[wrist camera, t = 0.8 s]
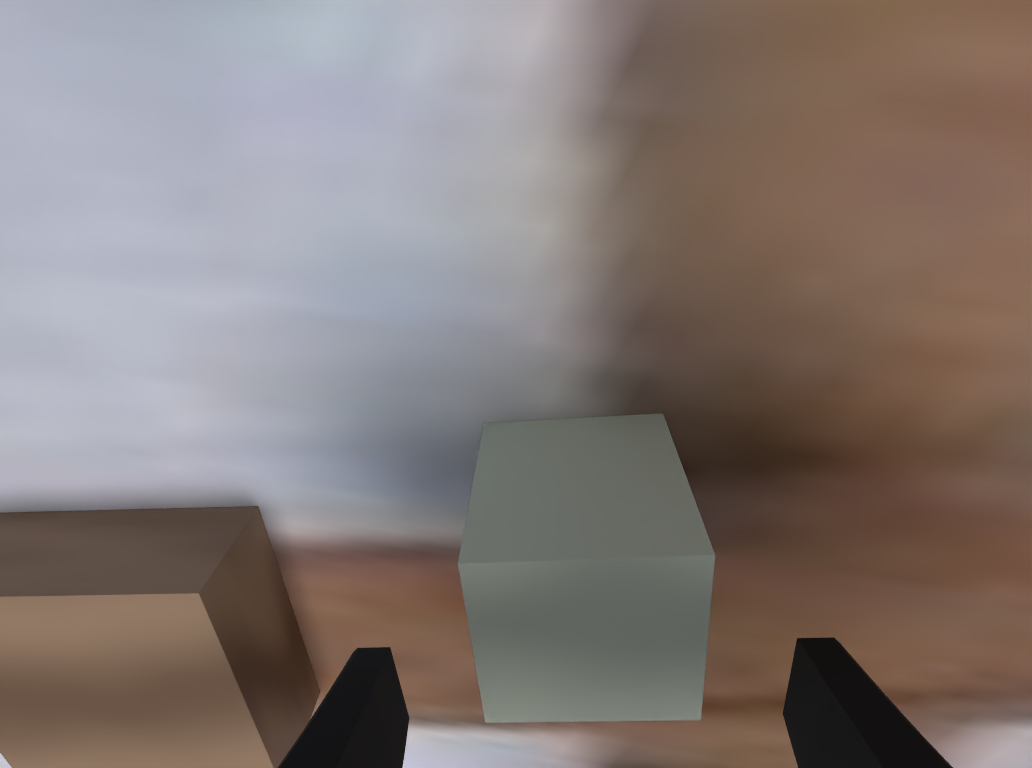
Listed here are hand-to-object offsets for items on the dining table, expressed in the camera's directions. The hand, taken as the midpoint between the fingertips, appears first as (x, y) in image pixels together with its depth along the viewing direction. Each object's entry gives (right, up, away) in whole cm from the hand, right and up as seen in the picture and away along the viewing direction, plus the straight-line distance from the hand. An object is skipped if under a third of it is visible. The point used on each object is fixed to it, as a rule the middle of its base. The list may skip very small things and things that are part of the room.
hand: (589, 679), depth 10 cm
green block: (0, +2, +5) cm, 6 cm away
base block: (-12, -2, +8) cm, 15 cm away
